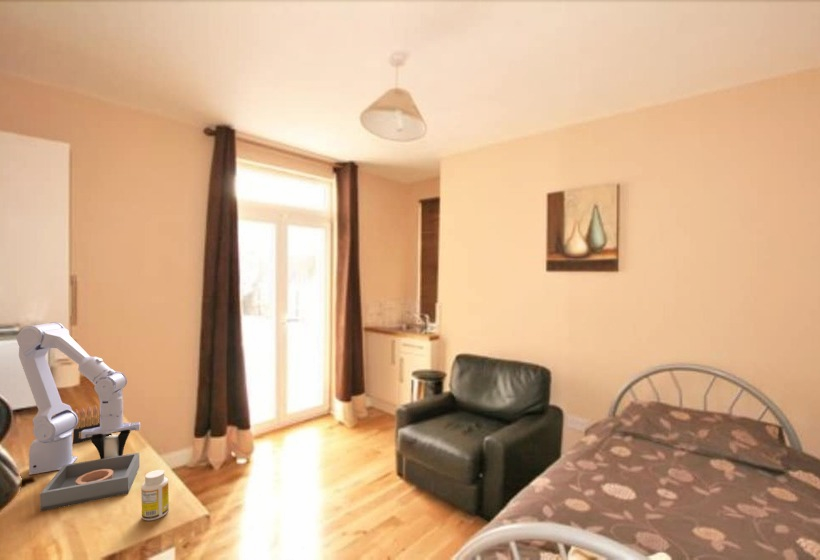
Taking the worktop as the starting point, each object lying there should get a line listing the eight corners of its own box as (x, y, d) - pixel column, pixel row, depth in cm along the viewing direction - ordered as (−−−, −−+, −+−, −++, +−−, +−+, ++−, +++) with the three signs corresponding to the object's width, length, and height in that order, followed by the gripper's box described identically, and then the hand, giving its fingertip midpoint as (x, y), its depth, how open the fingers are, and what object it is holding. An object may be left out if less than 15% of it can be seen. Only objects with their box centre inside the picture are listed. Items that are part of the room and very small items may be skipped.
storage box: (40, 511, 97) (40, 493, 97) (63, 480, 112) (63, 465, 112) (128, 493, 105) (128, 477, 105) (139, 467, 119) (139, 452, 119)
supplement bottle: (164, 505, 100) (163, 465, 100) (172, 513, 96) (171, 472, 96) (138, 515, 96) (138, 474, 95) (145, 525, 92) (145, 482, 92)
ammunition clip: (73, 444, 136) (72, 409, 136) (72, 442, 137) (72, 408, 137) (111, 435, 143) (111, 403, 143) (111, 434, 144) (110, 401, 144)
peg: (102, 467, 119) (102, 441, 119) (105, 461, 122) (105, 436, 122) (118, 464, 120) (118, 438, 120) (121, 458, 124) (121, 433, 124)
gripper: (77, 421, 114) (78, 467, 115) (137, 413, 121) (137, 457, 121) (85, 413, 121) (85, 456, 121) (141, 406, 127) (141, 447, 127)
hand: (111, 456), depth 121 cm, fingers closed on peg, 4 cm apart
